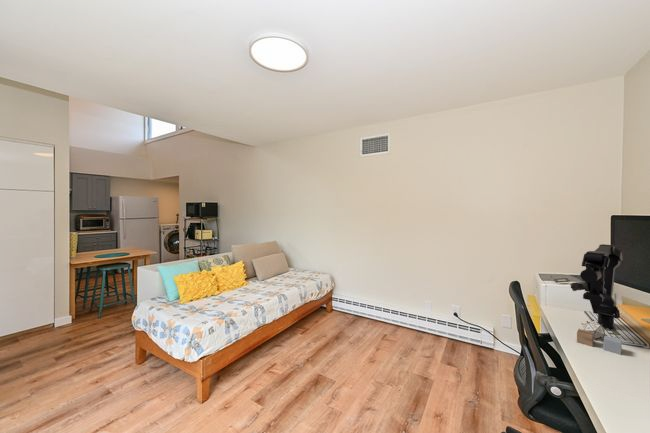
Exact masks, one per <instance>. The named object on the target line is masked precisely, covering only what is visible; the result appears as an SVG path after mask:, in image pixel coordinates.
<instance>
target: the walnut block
mask: <svg viewBox="0 0 650 433" xmlns="http://www.w3.org/2000/svg"><path fill="white" fill-rule="evenodd" d="M594 341H595V340H594V332H590V331H586V330H584V329H582V328H578V329H577V331H576V343H578V344H582V345H585V346H588V347H590V348H591V347H593V345H594V343H595V342H594Z"/></svg>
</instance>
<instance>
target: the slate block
mask: <svg viewBox="0 0 650 433" xmlns="http://www.w3.org/2000/svg"><path fill="white" fill-rule="evenodd" d="M606 335H607V334H605V336H603V351H605V352H609V353H613V354H616V355H620V356H621V355H622V349H623V348H622V347H623V344H622V343H623V340H622V339H621V338H617V337H613V336H609V335H607V336H606Z"/></svg>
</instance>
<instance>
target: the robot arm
mask: <svg viewBox="0 0 650 433" xmlns="http://www.w3.org/2000/svg"><path fill="white" fill-rule="evenodd" d="M622 261H623V253H622V251H621V250H619V249H618V248H616V247H615V245H613V244H599V245H598V247H597V248H596V249H595V250H589V251H588V250H587V251H586V253H584V254H583V258H582V262H581V267H585V269H584V270H582V271H580V276H579V277H580V279H582V280H583V281H576V282H571V283H570V284H569V285H570V289H571V290H572V292H577V291H583V290H584V293H583V294H582V299H583V300H587V301H589V302H590V306H591V309H592V312H593V314H596V315H597V322H596V323H598V324H600V325H601V324H603V325H602V327H603V328H606V329H605V330H610V331H611V330H612V331H615V329H616V325H615V324H614V323H615V319H616V320H617V319H620V318H621V313H620V309H619V307H618V306H617V302H616V300H615V299H614V298H613V295H614V294H613V292H614V285H615V284H614V282H615V274H616V273H615V271H616V269H617V268H618V267H620V265H621V262H622Z"/></svg>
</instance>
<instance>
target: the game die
mask: <svg viewBox="0 0 650 433" xmlns="http://www.w3.org/2000/svg"><path fill="white" fill-rule="evenodd" d="M581 325H583V330H586V331H590V332H594V341H596V339H597V338H600V339H602V337H605V335H606V336H608V335H607V334H606V332H605V331H606V330H607V329H606V328H603V327H602V325H603V324H601V325H600V324H598V323H597V322H596V320H595V319H592V320H591V321H587V320H586V323H583V322H582V323H581Z"/></svg>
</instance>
